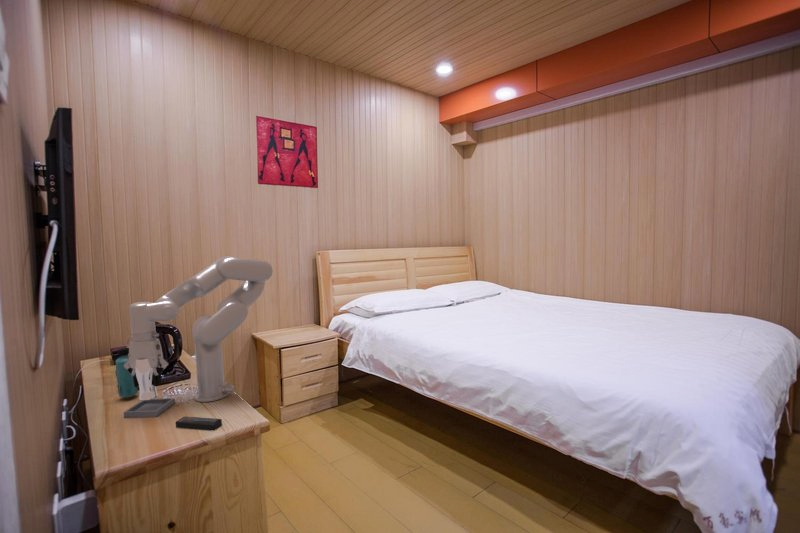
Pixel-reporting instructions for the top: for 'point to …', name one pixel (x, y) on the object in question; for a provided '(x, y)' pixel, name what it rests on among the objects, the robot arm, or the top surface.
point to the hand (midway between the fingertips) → (147, 384)
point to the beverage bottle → (124, 375)
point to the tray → (149, 408)
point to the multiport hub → (198, 423)
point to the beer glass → (145, 380)
